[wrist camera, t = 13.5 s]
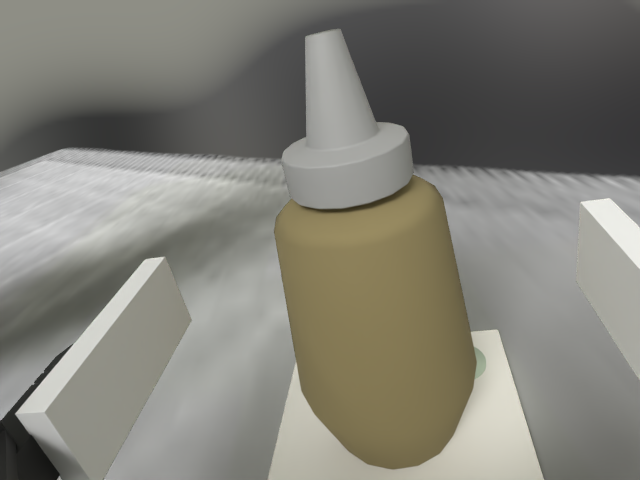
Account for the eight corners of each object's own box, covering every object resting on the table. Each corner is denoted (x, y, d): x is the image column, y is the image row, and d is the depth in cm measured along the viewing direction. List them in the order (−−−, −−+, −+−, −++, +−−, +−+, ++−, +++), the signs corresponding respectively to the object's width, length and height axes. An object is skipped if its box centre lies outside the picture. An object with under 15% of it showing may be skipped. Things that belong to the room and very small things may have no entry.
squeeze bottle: (436, 344, 27) (396, 6, 19) (516, 460, 20) (508, 0, 12) (303, 387, 27) (201, 54, 18) (337, 523, 19) (196, 77, 11)
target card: (256, 548, 20) (251, 538, 19) (301, 351, 30) (299, 342, 30) (563, 554, 17) (564, 542, 17) (498, 337, 28) (497, 327, 27)
